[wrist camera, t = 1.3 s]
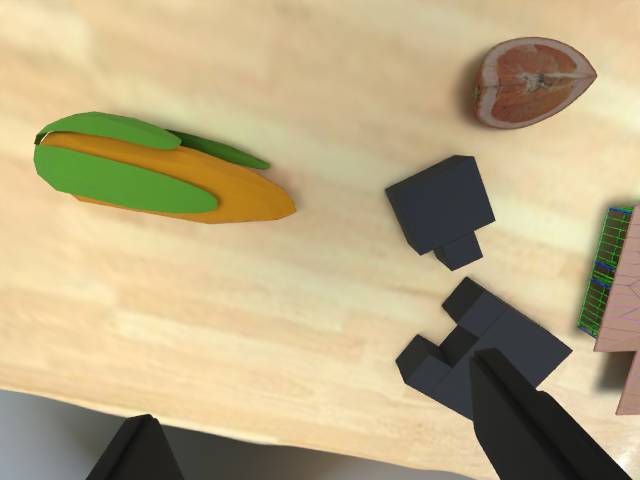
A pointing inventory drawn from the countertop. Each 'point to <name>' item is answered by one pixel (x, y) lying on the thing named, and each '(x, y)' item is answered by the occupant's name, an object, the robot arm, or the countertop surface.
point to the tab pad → (443, 210)
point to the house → (621, 307)
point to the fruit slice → (529, 82)
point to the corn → (155, 171)
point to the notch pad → (478, 347)
